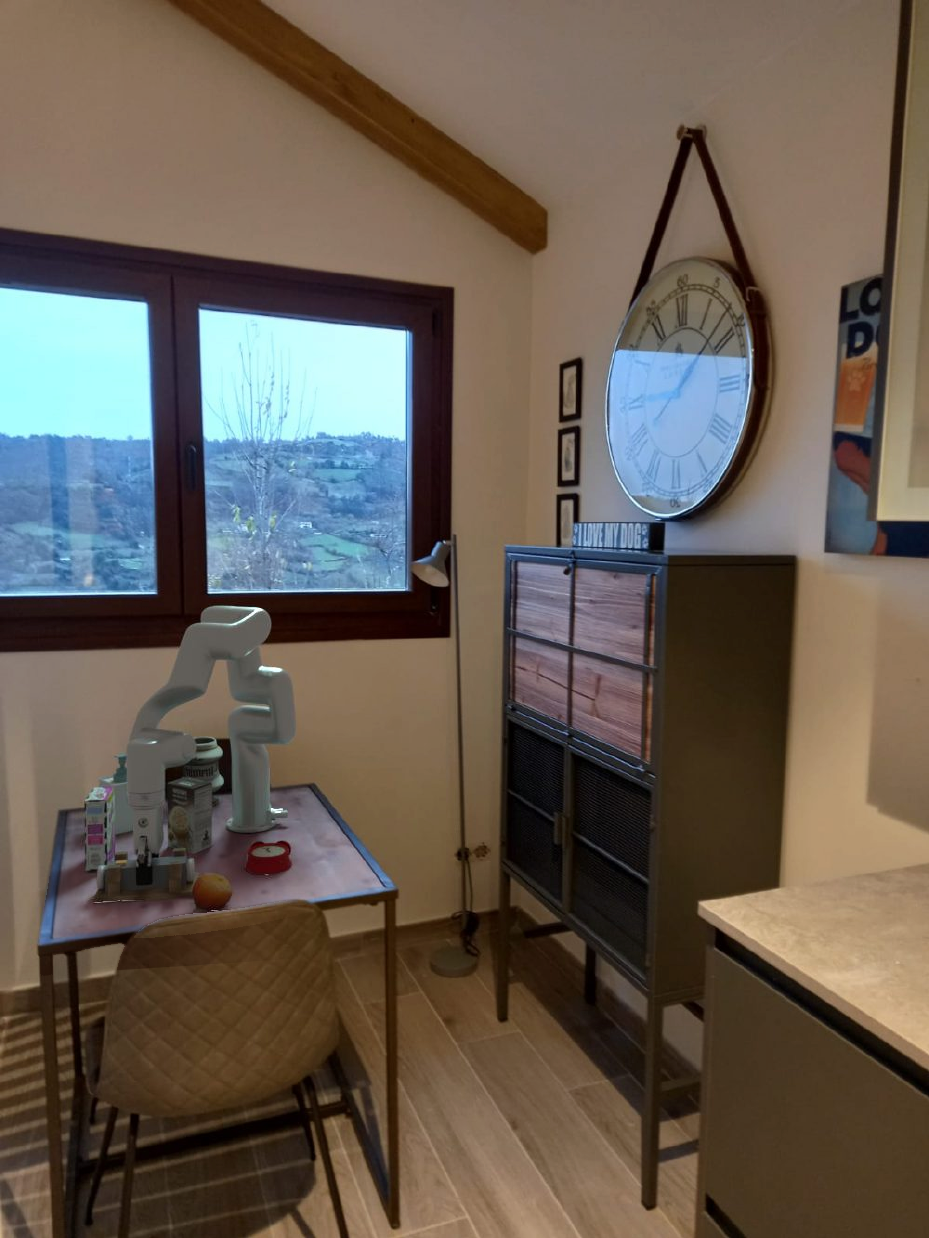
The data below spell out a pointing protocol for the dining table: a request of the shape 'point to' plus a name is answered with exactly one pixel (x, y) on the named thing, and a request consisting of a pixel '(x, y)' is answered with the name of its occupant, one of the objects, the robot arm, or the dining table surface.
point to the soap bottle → (120, 797)
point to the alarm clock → (268, 857)
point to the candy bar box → (99, 827)
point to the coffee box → (189, 814)
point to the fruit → (211, 892)
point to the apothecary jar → (205, 764)
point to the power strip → (159, 873)
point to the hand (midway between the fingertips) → (148, 875)
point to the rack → (147, 894)
